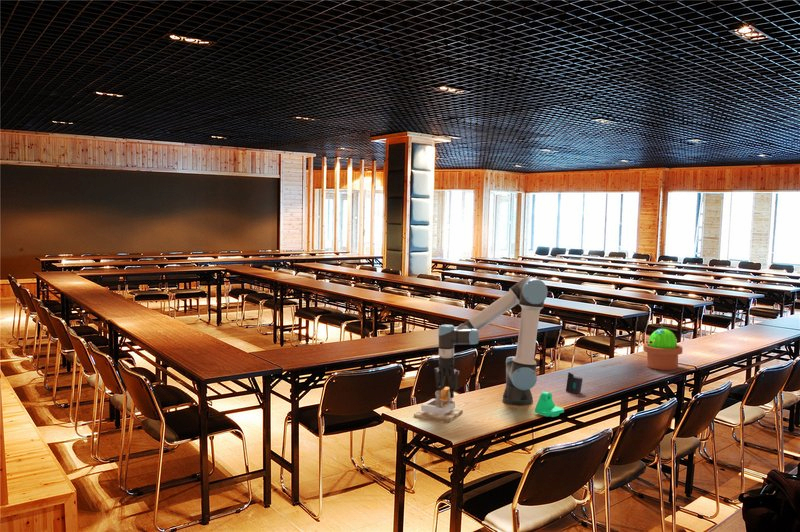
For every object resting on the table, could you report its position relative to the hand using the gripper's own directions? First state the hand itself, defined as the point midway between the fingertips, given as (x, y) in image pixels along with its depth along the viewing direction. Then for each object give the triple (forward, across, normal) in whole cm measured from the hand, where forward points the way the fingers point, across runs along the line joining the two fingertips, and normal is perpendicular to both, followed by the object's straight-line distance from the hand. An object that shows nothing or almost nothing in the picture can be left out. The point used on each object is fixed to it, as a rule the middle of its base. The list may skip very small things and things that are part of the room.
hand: (446, 403), depth 288 cm
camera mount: (+3, +46, +16) cm, 49 cm away
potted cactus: (+3, +82, +141) cm, 163 cm away
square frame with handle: (0, 0, -7) cm, 7 cm away
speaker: (+3, +48, +59) cm, 76 cm away
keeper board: (+3, 0, -10) cm, 10 cm away
